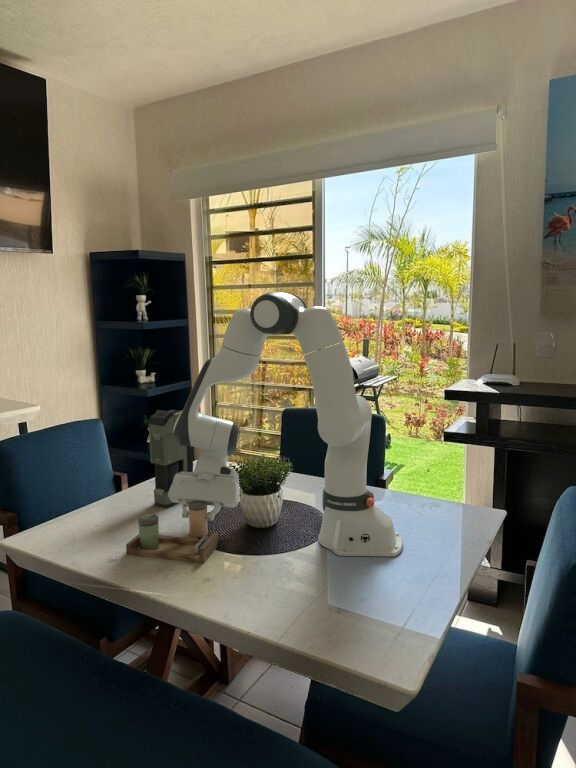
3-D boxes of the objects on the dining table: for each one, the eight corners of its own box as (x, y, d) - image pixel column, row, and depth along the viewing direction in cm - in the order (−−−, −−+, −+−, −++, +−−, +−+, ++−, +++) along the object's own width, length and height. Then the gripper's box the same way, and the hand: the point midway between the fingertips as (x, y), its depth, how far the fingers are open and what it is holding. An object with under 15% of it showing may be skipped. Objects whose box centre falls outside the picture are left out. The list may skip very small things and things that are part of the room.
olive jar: (163, 544, 144) (162, 515, 143) (154, 552, 139) (152, 523, 138) (145, 542, 145) (143, 513, 144) (135, 550, 140) (134, 521, 139)
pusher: (211, 547, 142) (210, 536, 141) (201, 558, 136) (201, 546, 135) (204, 546, 142) (204, 535, 142) (194, 558, 136) (194, 546, 136)
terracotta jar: (210, 531, 153) (210, 500, 152) (203, 539, 148) (203, 507, 146) (193, 529, 154) (192, 499, 153) (186, 537, 149) (185, 506, 148)
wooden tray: (218, 546, 143) (218, 532, 143) (204, 564, 134) (203, 549, 133) (145, 538, 148) (144, 525, 147) (126, 555, 138) (125, 540, 138)
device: (167, 509, 169) (164, 414, 165) (149, 504, 173) (145, 412, 168) (196, 495, 181) (194, 407, 177) (179, 491, 185) (176, 404, 180)
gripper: (172, 465, 157) (158, 510, 149) (240, 470, 153) (229, 517, 145) (179, 475, 162) (166, 519, 154) (245, 480, 158) (234, 526, 150)
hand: (197, 518), depth 150 cm, fingers open, 6 cm apart
